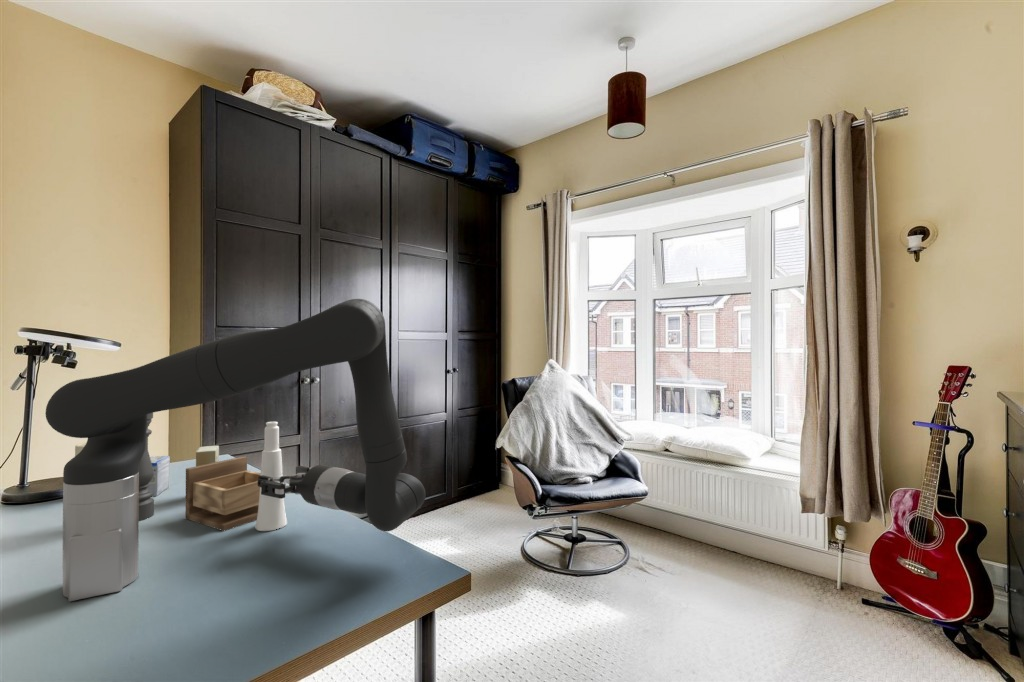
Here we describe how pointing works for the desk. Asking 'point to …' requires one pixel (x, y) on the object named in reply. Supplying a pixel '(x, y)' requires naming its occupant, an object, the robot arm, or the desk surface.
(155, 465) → the medicine box
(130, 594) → the desk surface
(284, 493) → the robot arm
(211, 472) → the wooden box caddy
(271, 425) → the cosmetic bottle
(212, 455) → the skincare box
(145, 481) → the candle holder
